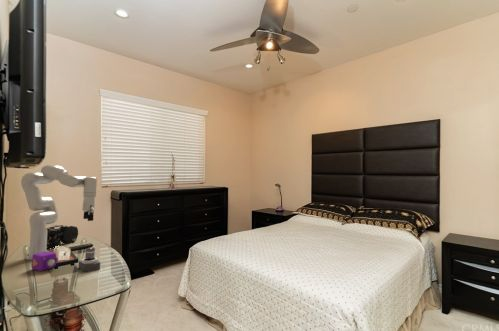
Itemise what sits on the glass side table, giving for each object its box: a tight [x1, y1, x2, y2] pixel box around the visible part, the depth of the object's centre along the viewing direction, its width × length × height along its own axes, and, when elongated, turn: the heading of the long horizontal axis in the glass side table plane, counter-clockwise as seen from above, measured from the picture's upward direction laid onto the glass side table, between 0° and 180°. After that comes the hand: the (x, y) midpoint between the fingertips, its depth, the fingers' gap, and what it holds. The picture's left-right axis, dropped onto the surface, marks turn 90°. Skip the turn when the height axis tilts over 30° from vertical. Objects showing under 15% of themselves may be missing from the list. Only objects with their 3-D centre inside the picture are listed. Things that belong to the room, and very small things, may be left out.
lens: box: [84, 246, 96, 261], centre depth 169 cm, size 5×5×8 cm
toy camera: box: [31, 250, 58, 272], centre depth 165 cm, size 11×14×10 cm
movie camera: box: [46, 224, 79, 250], centre depth 216 cm, size 31×18×18 cm, turn 167°
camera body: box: [78, 256, 101, 273], centre depth 168 cm, size 12×9×6 cm
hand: (88, 219), depth 181 cm, fingers open, 9 cm apart
